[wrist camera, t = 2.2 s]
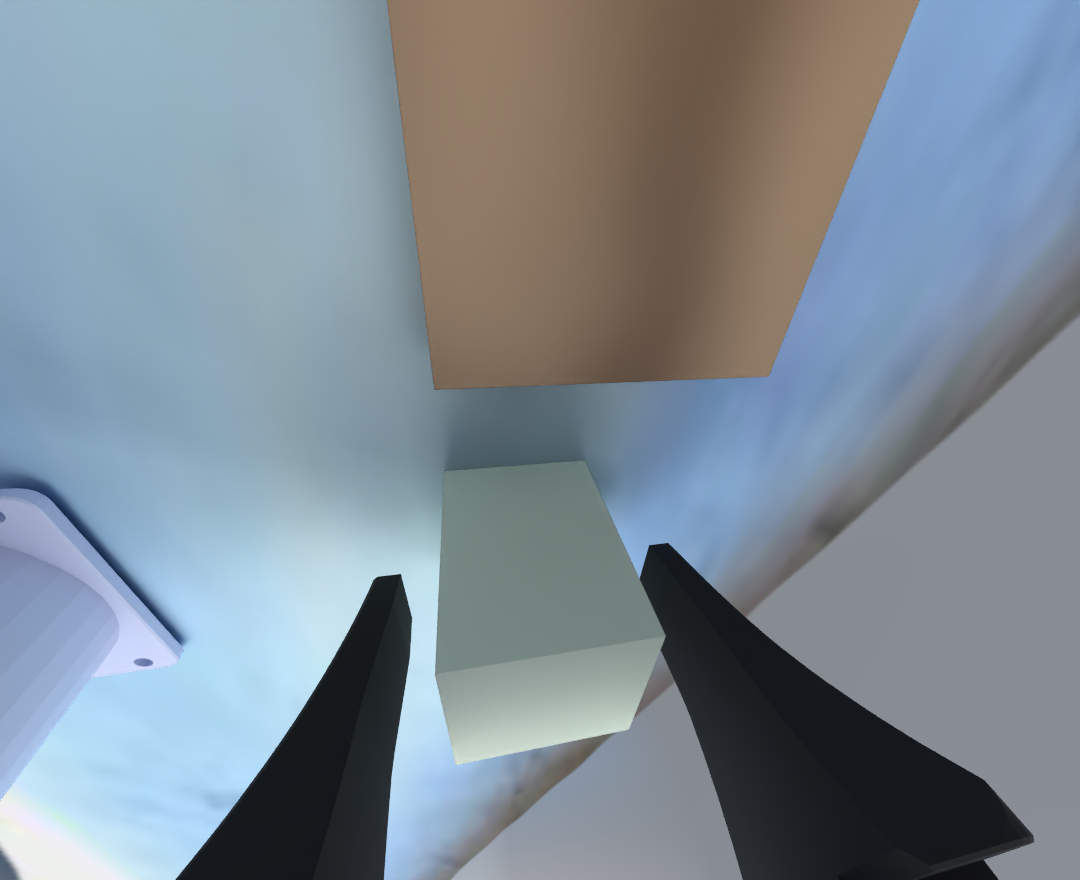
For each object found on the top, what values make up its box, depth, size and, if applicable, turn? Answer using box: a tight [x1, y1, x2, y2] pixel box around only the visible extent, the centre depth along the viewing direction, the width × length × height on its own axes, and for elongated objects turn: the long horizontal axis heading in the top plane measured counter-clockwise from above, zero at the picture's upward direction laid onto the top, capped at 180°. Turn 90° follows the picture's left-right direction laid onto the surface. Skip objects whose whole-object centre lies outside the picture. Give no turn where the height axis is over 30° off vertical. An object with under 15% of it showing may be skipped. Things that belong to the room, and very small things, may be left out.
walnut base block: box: [387, 0, 919, 390], centre depth 8 cm, size 8×8×2 cm
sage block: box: [435, 460, 666, 765], centre depth 11 cm, size 4×4×6 cm
